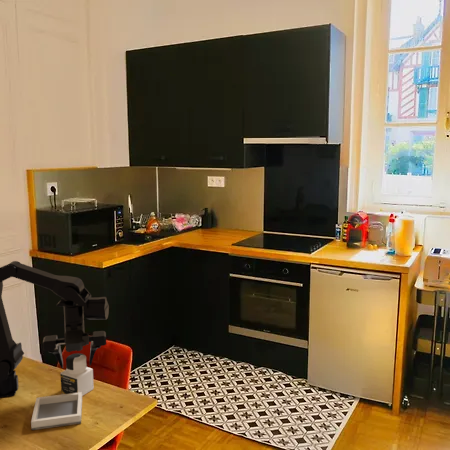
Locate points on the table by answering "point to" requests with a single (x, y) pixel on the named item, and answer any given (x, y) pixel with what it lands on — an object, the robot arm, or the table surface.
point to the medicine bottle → (76, 375)
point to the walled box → (57, 411)
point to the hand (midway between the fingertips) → (76, 366)
